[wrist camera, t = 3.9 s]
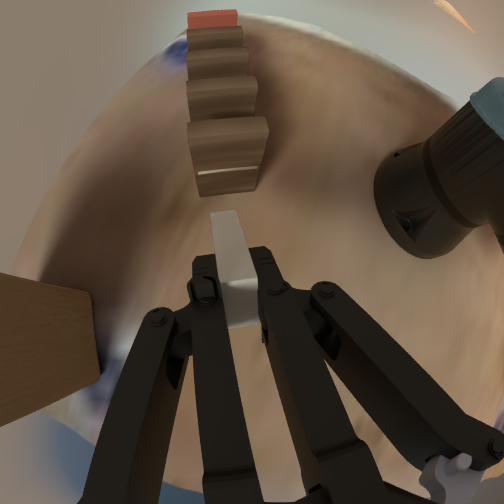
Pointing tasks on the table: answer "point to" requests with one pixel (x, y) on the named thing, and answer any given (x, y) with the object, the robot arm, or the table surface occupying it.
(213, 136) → the tile
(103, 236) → the table surface
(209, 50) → the tile
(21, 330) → the wooden block
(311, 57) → the table surface
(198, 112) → the tile
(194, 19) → the end tile
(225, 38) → the tile
